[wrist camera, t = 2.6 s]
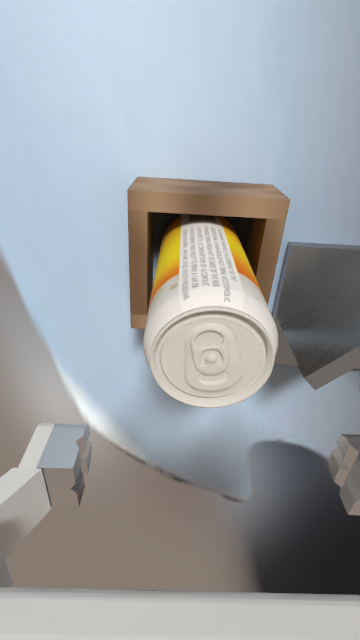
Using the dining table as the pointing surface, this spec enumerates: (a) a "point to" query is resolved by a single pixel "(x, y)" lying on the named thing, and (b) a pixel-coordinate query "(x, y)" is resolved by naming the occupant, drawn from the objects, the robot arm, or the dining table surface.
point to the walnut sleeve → (201, 199)
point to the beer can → (207, 316)
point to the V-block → (319, 311)
